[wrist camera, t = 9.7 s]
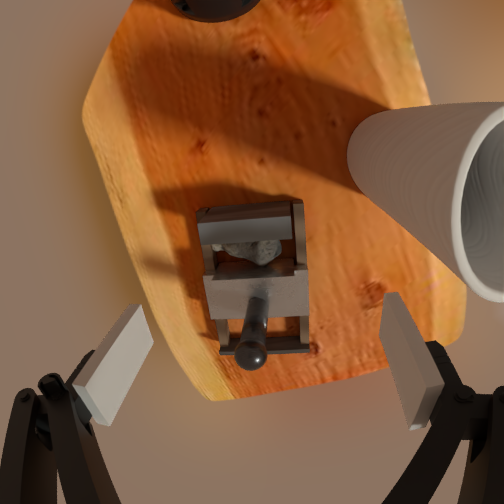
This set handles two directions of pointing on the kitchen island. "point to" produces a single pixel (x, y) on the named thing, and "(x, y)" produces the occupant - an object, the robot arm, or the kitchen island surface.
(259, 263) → the stone
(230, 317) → the ram
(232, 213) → the grey rectangular frame
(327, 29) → the kitchen island surface
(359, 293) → the kitchen island surface
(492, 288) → the vase
